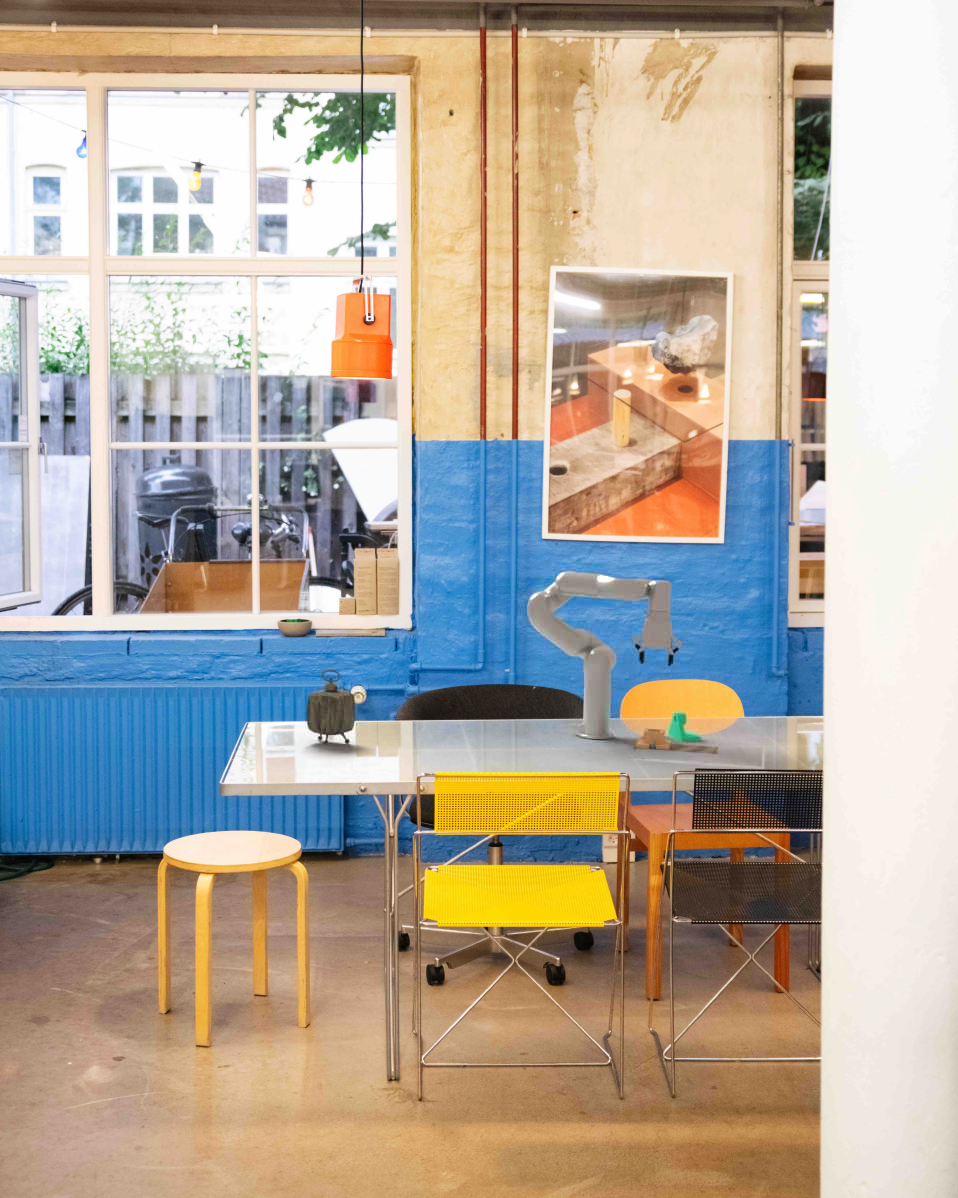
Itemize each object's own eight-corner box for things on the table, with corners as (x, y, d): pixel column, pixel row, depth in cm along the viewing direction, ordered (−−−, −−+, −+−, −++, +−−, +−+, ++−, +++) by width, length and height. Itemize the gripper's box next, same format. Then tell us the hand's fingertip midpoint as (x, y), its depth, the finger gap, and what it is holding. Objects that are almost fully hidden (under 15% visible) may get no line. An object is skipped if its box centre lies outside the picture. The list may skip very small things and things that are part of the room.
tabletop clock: (354, 743, 384) (356, 669, 383) (340, 748, 376) (341, 672, 375) (318, 739, 391) (319, 666, 389) (303, 743, 382) (304, 669, 381)
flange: (671, 744, 393) (671, 729, 393) (668, 750, 382) (669, 734, 382) (639, 741, 396) (639, 726, 395) (635, 747, 385) (636, 732, 385)
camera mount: (701, 744, 400) (702, 715, 400) (681, 744, 399) (682, 715, 398) (687, 737, 412) (688, 709, 411) (667, 738, 410) (669, 709, 410)
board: (634, 750, 385) (634, 739, 384) (638, 744, 396) (638, 732, 396) (716, 756, 378) (716, 744, 378) (717, 750, 390) (718, 738, 390)
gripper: (632, 614, 399) (629, 663, 400) (682, 618, 393) (679, 667, 395) (636, 613, 406) (633, 661, 407) (685, 616, 401) (682, 665, 402)
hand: (655, 664), depth 401 cm, fingers open, 9 cm apart
